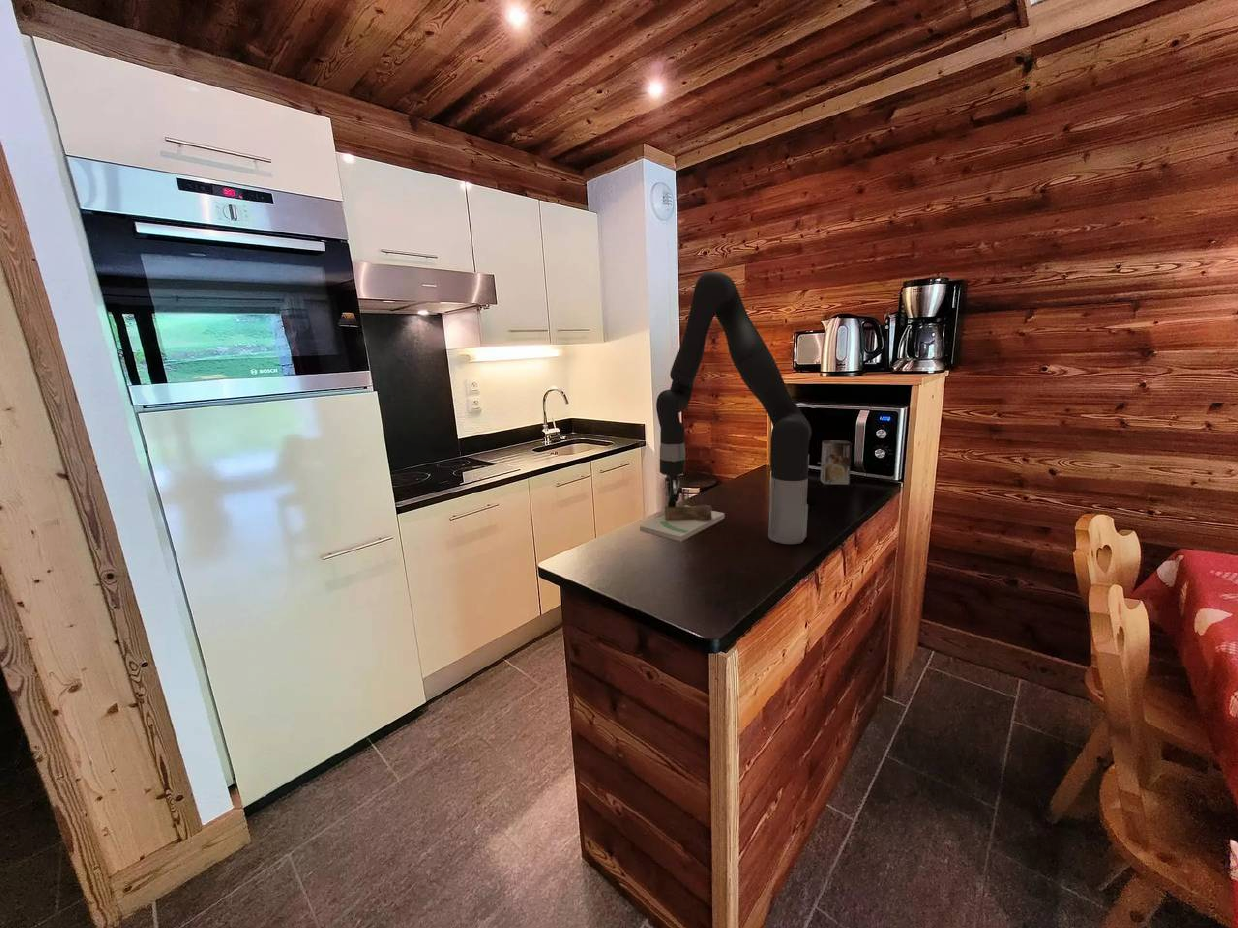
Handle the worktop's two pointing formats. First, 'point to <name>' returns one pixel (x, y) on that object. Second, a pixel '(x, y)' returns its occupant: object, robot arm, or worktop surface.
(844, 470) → the coffee box
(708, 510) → the brown wooden block
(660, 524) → the dial board
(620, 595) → the worktop surface
